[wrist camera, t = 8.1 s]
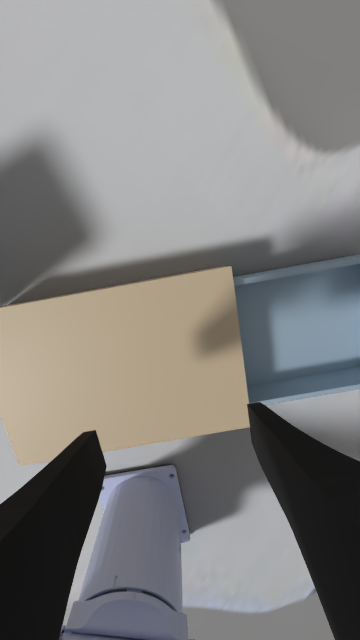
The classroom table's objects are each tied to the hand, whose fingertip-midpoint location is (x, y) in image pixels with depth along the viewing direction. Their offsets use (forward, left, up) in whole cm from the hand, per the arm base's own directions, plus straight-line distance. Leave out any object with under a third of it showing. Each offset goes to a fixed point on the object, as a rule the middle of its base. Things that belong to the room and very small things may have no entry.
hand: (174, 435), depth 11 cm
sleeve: (+1, +4, -10) cm, 11 cm away
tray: (+1, -8, -10) cm, 13 cm away
